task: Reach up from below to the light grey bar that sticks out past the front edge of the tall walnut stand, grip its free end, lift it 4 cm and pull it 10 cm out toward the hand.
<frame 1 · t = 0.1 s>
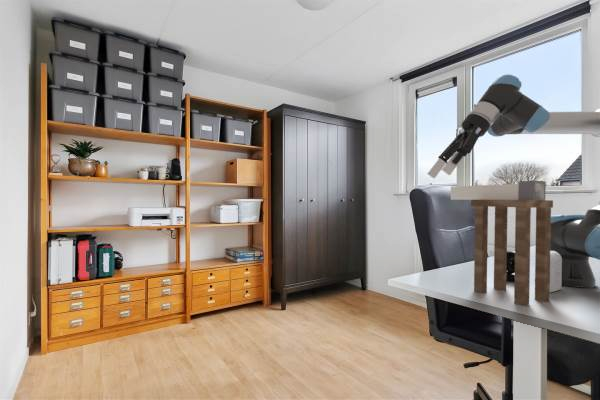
hand: (437, 174, 99), 36 cm above the table, tool tilted 35°, fingers open, 13 cm apart
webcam: (509, 280, 110), on the table
walnut stand: (508, 295, 91), on the table
light grey bar: (491, 199, 96), point 28 cm above the table, touching walnut stand
photo printer: (548, 290, 97), on the table
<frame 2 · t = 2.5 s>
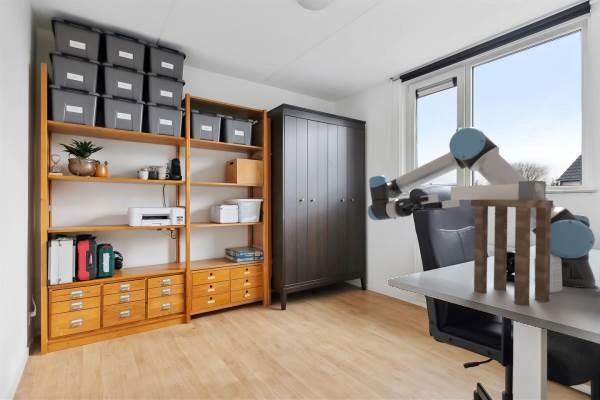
hand: (448, 199, 112), 28 cm above the table, tool horizontal, fingers open, 13 cm apart
photo printer: (548, 292, 97), on the table, touching arm
everything else where it was.
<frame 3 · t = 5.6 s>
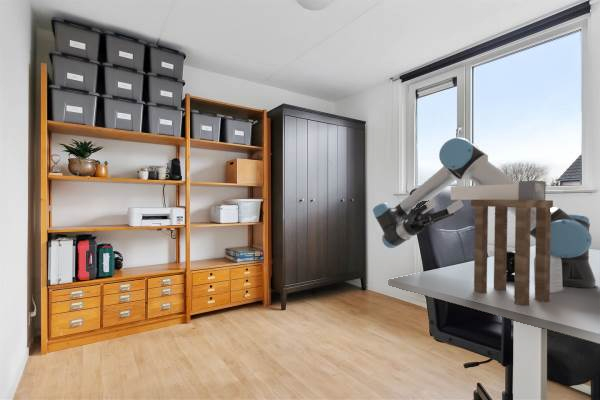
hand: (448, 202, 111), 27 cm above the table, tool pointing upward, fingers open, 13 cm apart
nothing on the table moved.
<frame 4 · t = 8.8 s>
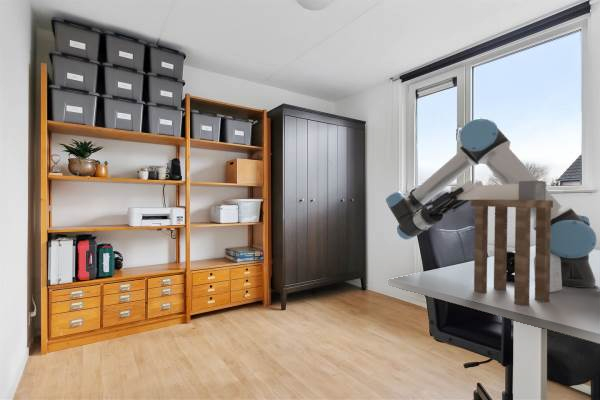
hand: (477, 184, 101), 33 cm above the table, tool pointing upward, fingers closed on light grey bar, 4 cm apart
light grey bar: (491, 199, 96), point 28 cm above the table, touching gripper, walnut stand
everything else where it was.
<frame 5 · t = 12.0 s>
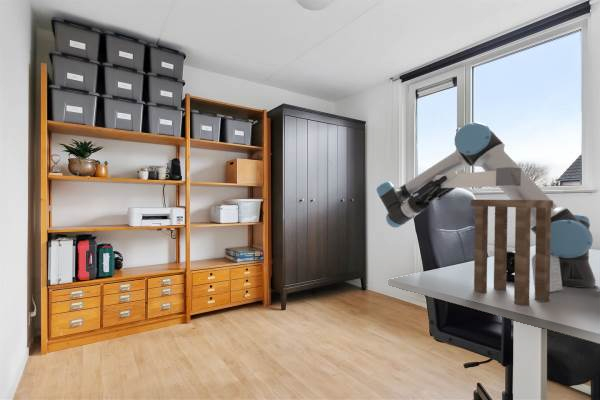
hand: (459, 172, 107), 37 cm above the table, tool pointing upward, fingers closed on light grey bar, 4 cm apart
light grey bar: (472, 186, 102), point 32 cm above the table, touching gripper
everything else where it was.
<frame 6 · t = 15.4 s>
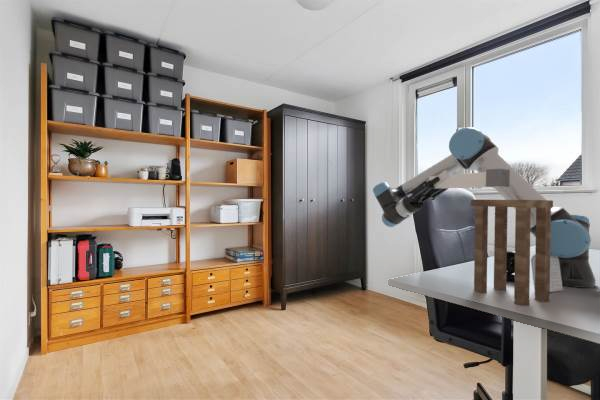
hand: (451, 173, 110), 37 cm above the table, tool pointing upward, fingers closed on light grey bar, 4 cm apart
light grey bar: (464, 187, 105), point 32 cm above the table, touching gripper
everything else where it was.
at the end: the gripper is holding light grey bar; light grey bar moved 10.6 cm from its start; light grey bar inside the target area (0.3 cm from its centre), point 32.1 cm above the table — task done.
